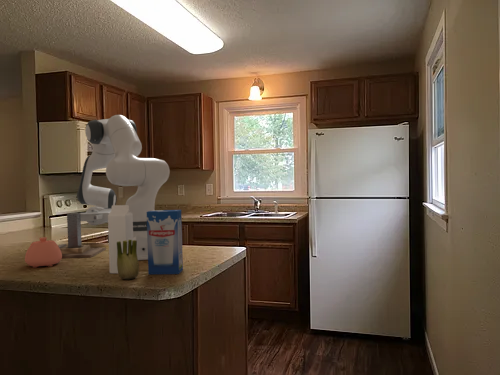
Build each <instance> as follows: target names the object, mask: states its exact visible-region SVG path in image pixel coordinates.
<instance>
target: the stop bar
mask: <svg viewBox="0 0 500 375" xmlns="http://www.w3.org/2000/svg"><path fill="white" fill-rule="evenodd" d="M80 213H81V212H71V213H70V212H69V213H67V214H66V222H67V223H66V224H67V246H68V248H80V247H82V246H81V245H82V227H81V226H82V225H81V224H82V221H81V215H80Z"/></svg>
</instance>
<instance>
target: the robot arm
mask: <svg viewBox="0 0 500 375" xmlns="http://www.w3.org/2000/svg"><path fill="white" fill-rule="evenodd" d="M84 132H85V136H86V139H87V142H89V143H90V144H91V145H92V152H91V155H89V156H87V157H86V159H85V161H84V163H83V167H82V172H81V177H80V181H79V186H78V190H77V194H76V199H77V201H78V202H79V203H80V204H81V205H87V206H88V205H90V206H91V207H89V208H88V209H86V211H85V212H79V213H80V215H81V222H87V224H89V225H91V226H98V225H103V224H106V223H107V224H108V215H109V213H110V212H111V210H112V205H117V200H118V199H117V194H116V192H115V190H113V189H112V188H107V187H102V186H96V185H92V184H91V181H92V175H93V171H96V170H102V169H105V175H106V176H105V177H106V178H107V180H108V182H110V183H111V184H112V185H115V186H120V187H121V186H122V187H131V186H132V187H133V186H134V187H137V190H136V192H135V193H134V194H133V195H132V196H130V197H128V198H127V199H126V202H125V204H124V205H128V206H129V210H130V212H131V213H132V214H133V240H136V241H137V250H136V251H137V259H138V261H144V260H147V261H148V243H147V212H148V211H152V210H155V205H156V203H155V202H156V198H157V195H158V192H159V190H160V189H161V187H162V186H163V185H164V184H165V183H166V182H167V181H168V180H169V177H170V172H171V170H170V166H169V164H168V163H167V162H166V161H165V160H164V159H159V158H154V157H139V155H140V154H141V152H142V151H143V150H142V149H143V147H142V144H143V143H142V142H141V140H140V138H139V136H138V128H137V126H136V123H135V122H134V120H132V119H128V118H127V117H126V116H125V115H122V114H115V115H112V116H110V118H106V119H105V118H104V119H93V120H90V121H87V123H86V125H85V131H84Z"/></svg>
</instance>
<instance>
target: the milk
mask: <svg viewBox="0 0 500 375" xmlns="http://www.w3.org/2000/svg"><path fill="white" fill-rule="evenodd" d="M107 224H108V225H107V226H108V228H107V229H108V231H107V232H108V234H107V235H108V257H109V258H108V260H109V262H108V263H109V265H108V266H109V274H118V269H117V242H118V241H121V248H122V253H123V241H125V240H126V241H127V254H128V240H129V239H130V240H133V214H132V213H131V212H130V210H129V206H128V205H125V204H119V205H118V204H116V205H112V210H111V212H110V213H109V215H108V222H107Z"/></svg>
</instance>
